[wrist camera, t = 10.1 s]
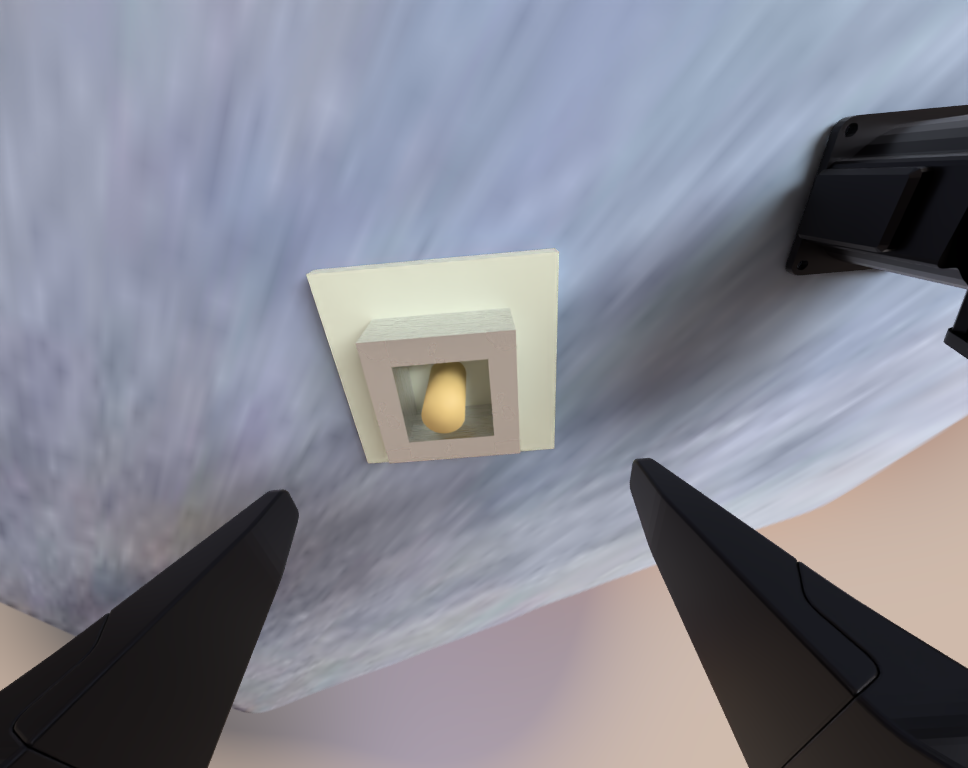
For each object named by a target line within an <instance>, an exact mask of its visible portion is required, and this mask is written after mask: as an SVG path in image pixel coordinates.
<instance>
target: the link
mask: <svg viewBox="0 0 968 768" xmlns="http://www.w3.org/2000/svg"><path fill="white" fill-rule="evenodd" d="M356 347H357V350H358V354H359V357H360V361H361V365H362V368H363V372H364V375H365V379H366V382H367V386H368V389H369V393H370V396H371V400H372V403H373V407H374V410H375V414H376V417H377V421H378V424H379V428H380V431H381V435H382V439H383V442H384V446H385V449H386V453H387V456H388V460H389V463H401V462H414V461H426V460H439V459H452V458H465V457H478V456H491V455H503V454H516V453H520V434H519V406H518V378H517V349H516V329H515V325H514V322H513V318H512V314H511V311H510V308H501V309H489V310H477V311H466V312H454V313H442V314H430V315H418V316H407V317H395V318H383V319H372V321H371V322H370V323H369V325H368V326H367V328H366V329H365V330H364V332H363V333H362V335H361V336H360V338H359V339H358V340H357V342H356ZM484 359H488V365H489V378H490V390H491V402H492V404H482V405H469V406H465V420H464V423H463V424H462V426H461V427H460V428H459V429H457V430H456V431H454V432H451V433H437V432H434V431H432V430H430V429H429V428H428V427H426V425H425V424H424V423H423V421H422V417H421V413H422V409H419V410H417V407H416V402H415V397H414V392H413V388H412V383H411V378H410V373H409V369H408V366H411V365H424V364H436V363H448V362H460V361H472V360H484Z"/></svg>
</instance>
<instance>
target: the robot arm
mask: <svg viewBox="0 0 968 768" xmlns="http://www.w3.org/2000/svg"><path fill="white" fill-rule="evenodd" d="M848 126H849V132H848V133H847V135H846V136H845V130H846V128H847V127H848ZM801 261H802V263H801V265H800V266H799V267H798V268H797V265H798V264H799V263H800V262H801ZM866 269H879V270H884V271H888V272H893V273H897V274H902V275H906V276H910V277H915V278H919V279H924V280H928V281H932V282H937V283H941V284H946V285H950V286H954V287H959V288H963V289H967V291H966V294H965V296H964V299H963V302H962V304H961V307H960V309H959V312H958V315H957V317H956V320H955V323H954V325H953V327H951V328H949V329H948V331H947V334H946V336H945V339H944V343H945V344H947V345H948V346H950V347H951V348H952V349H954V350H955V351H957V352H958V353H960V354H961V355H962V356H964V357H965V358H967V359H968V105H961V106H950V107H940V108H929V109H919V110H908V111H898V112H887V113H877V114H866V115H856V116H850V117H846V118H843V119H841V120H840V121H839V122H837V124H836V125H835V126H834V127H833V129H832V131H831V134H830V137H829V140H828V143H827V146H826V149H825V152H824V155H823V158H822V160H821V163H820V166H819V169H818V172H817V175H816V178H815V181H814V184H813V187H812V190H811V193H810V196H809V199H808V202H807V205H806V208H805V211H804V214H803V217H802V220H801V223H800V226H799V229H798V231H797V234H796V237H795V240H794V243H793V246H792V249H791V252H790V255H789V258H788V261H787V264H786V270H787V272H789V273H791V274H794V275H809V274H820V273H831V272H843V271H854V270H866ZM630 490H631V493H632V496H633V499H634V503H635V506H636V509H637V512H638V515H639V518H640V521H641V524H642V527H643V530H644V533H645V536H646V539H647V542H648V545H649V548H650V550H651V553H652V555H653V557H654V560H655V562H656V564H657V566H658V568H659V571H660V573H661V575H662V577H663V579H664V581H665V584H666V586H667V588H668V590H669V593H670V595H671V597H672V599H673V601H674V604H675V606H676V608H677V610H678V612H679V615H680V617H681V619H682V621H683V623H684V626H685V628H686V630H687V632H688V634H689V636H690V639H691V641H692V643H693V645H694V648H695V650H696V652H697V654H698V656H699V659H700V661H701V663H702V665H703V668H704V670H705V672H706V674H707V676H708V679H709V681H710V683H711V685H712V687H713V690H714V692H715V694H716V696H717V698H718V700H719V703H720V705H721V707H722V709H723V711H724V714H725V716H726V718H727V720H728V723H729V725H730V727H731V729H732V731H733V734H734V736H735V738H736V740H737V742H738V745H739V747H740V749H741V751H742V753H743V756H744V758H745V760H746V762H747V764H748V767H749V768H968V668H966V667H964V666H963V665H961V664H959V663H958V662H956V661H955V660H953V659H951V658H950V657H948V656H947V655H945V654H943V653H942V652H940V651H938V650H937V649H935V648H933V647H932V646H930V645H929V644H927V643H925V642H924V641H922V640H920V639H919V638H917V637H915V636H914V635H912V634H911V633H909V632H907V631H906V630H904V629H903V628H901V627H899V626H898V625H896V624H894V623H893V622H891V621H890V620H888V619H886V618H885V617H883V616H882V615H880V614H879V613H877V612H875V611H874V610H872V609H871V608H869V607H867V606H866V605H864V604H862V603H861V602H860V601H858V600H856V599H855V598H853V597H852V596H850V595H849V594H847V593H846V592H844V591H843V590H841V589H840V588H838V587H837V586H835V585H834V584H832V583H831V582H829V581H828V580H826V579H825V578H823V577H822V576H821V575H819V574H818V573H816V572H814V571H813V570H812V569H810V568H809V567H808V566H806V565H805V564H803V563H802V562H797V560H796V558H794V557H793V556H791V555H790V554H789V553H787V552H786V551H784V550H783V549H781V548H780V547H779V546H777V545H775V544H774V543H773V542H771V541H770V540H768V539H767V538H765V537H764V536H763V535H761V534H760V533H758V532H757V531H756V530H754V529H753V528H751V527H750V526H748V525H747V524H745V523H744V522H743V521H741V520H740V519H738V518H737V517H735V516H734V515H732V514H731V513H730V512H728V511H727V510H725V509H724V508H722V507H721V506H720V505H718V504H717V503H715V502H714V501H712V500H711V499H709V498H708V497H707V496H705V495H704V494H702V493H701V492H699V491H698V490H697V489H695V488H694V487H692V486H691V485H689V484H688V483H686V482H685V481H684V480H682V479H681V478H679V477H678V476H676V475H675V474H673V473H672V472H671V471H669V470H668V469H666V468H665V467H663V466H662V465H661V464H659V463H658V462H656V461H655V460H653V459H651V458H642V459H635V460H634V461H633V464H632V471H631V477H630ZM298 518H299V513H298V509H297V507H296V505H295V503H294V502H293V500H292V498H291V496H290V494H289V492H288V491H286V490H272V491H269V492H267V493H265V494H264V495H263V496H262V497H260V498H259V499H258V500H256V501H255V502H254V503H252V504H251V505H250V506H248V507H247V508H246V509H244V510H243V511H242V512H240V513H239V514H238V515H236V516H235V517H234V518H232V519H231V520H230V521H229V522H227V523H226V524H225V525H223V526H222V527H221V528H219V529H218V530H217V531H215V532H214V533H213V534H211V535H210V536H209V537H207V538H206V539H205V540H203V541H202V542H201V543H199V544H198V545H197V546H196V547H194V548H193V549H192V550H190V551H189V552H188V553H186V554H185V555H184V556H182V557H181V558H180V559H178V560H177V561H176V562H174V563H173V564H172V565H170V566H169V567H168V568H166V569H165V570H164V571H162V572H161V573H160V574H159V575H157V576H156V577H155V578H153V579H152V580H151V581H149V582H148V583H147V584H145V585H144V586H143V587H141V588H140V589H139V590H137V591H136V592H135V593H133V594H132V595H131V596H129V597H128V598H127V599H125V600H124V601H123V602H122V603H120V604H119V605H118V606H116V607H115V608H114V609H112V610H111V612H110V613H107V614H106V615H104V616H103V617H102V618H100V619H99V620H98V621H96V622H95V623H94V624H92V625H91V626H90V627H88V628H87V629H86V630H85V631H83V632H82V633H80V634H79V635H78V636H76V637H75V638H74V639H72V640H71V641H70V642H68V643H67V644H66V645H64V646H63V647H62V648H60V649H59V650H58V651H56V652H55V653H53V654H52V655H51V656H49V657H48V658H46V659H45V660H44V661H42V662H41V663H40V664H38V665H37V666H36V667H34V668H32V669H31V670H30V671H28V672H27V673H25V674H24V675H22V676H21V677H20V678H19V679H17V680H15V681H14V682H13V683H11V684H10V685H9V686H7V687H6V688H4V689H3V690H1V691H0V768H208V766H209V763H210V761H211V758H212V755H213V753H214V750H215V748H216V745H217V742H218V740H219V737H220V735H221V732H222V730H223V727H224V725H225V722H226V719H227V717H228V714H229V712H230V709H231V707H232V704H233V702H234V699H235V696H236V694H237V691H238V689H239V686H240V684H241V681H242V679H243V676H244V673H245V671H246V668H247V666H248V663H249V661H250V658H251V655H252V653H253V650H254V648H255V645H256V643H257V640H258V638H259V635H260V632H261V630H262V627H263V625H264V622H265V620H266V617H267V614H268V612H269V609H270V607H271V604H272V602H273V599H274V597H275V594H276V591H277V589H278V586H279V583H280V581H281V578H282V575H283V572H284V569H285V565H286V562H287V558H288V555H289V551H290V547H291V544H292V540H293V537H294V533H295V530H296V526H297V523H298Z"/></svg>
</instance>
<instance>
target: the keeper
mask: <svg viewBox="0 0 968 768" xmlns="http://www.w3.org/2000/svg"><path fill="white" fill-rule="evenodd" d="M558 270H559V251H557V250H556V249H555V248H551V249H540V250H529V251H518V252H507V253H496V254H485V255H473V256H462V257H451V258H440V259H429V260H418V261H407V262H396V263H385V264H373V265H362V266H351V267H340V268H329V269H318V270H313V271H311V272H310V273H308V274H306V275H307V278H308V281H309V285H310V288H311V291H312V294H313V297H314V300H315V303H316V306H317V309H318V312H319V315H320V318H321V321H322V324H323V327H324V330H325V333H326V336H327V339H328V342H329V346H330V349H331V352H332V355H333V358H334V361H335V364H336V367H337V370H338V373H339V376H340V379H341V382H342V385H343V388H344V391H345V394H346V397H347V400H348V403H349V407H350V410H351V413H352V416H353V419H354V422H355V425H356V428H357V431H358V434H359V437H360V440H361V443H362V446H363V449H364V452H365V455H366V458H367V461H368V463H380V462H389V460H388V456H387V453H386V449H385V446H384V442H383V439H382V435H381V431H380V428H379V424H378V421H377V417H376V414H375V410H374V407H373V403H372V400H371V396H370V393H369V389H368V386H367V382H366V379H365V375H364V372H363V368H362V365H361V361H360V357H359V354H358V350H357V347H356V342H357V340H358V339H359V338H360V336H361V335H362V333H363V332H364V330H365V329H366V328H367V326H368V325H369V323H370V322H371V321H372V319H383V318H395V317H407V316H418V315H430V314H442V313H454V312H466V311H477V310H489V309H501V308H510V311H511V314H512V318H513V322H514V325H515V329H516V349H517V378H518V406H519V434H520V451H530V450H542V449H554V434H555V393H556V352H557V311H558ZM408 369H409V373H410V378H411V383H412V388H413V392H414V397H415V402H416V407H417V410H419V409H422V413H421V417H422V421H423V423H424V424H425V425H426V427H428V428H429V429H430V430H432V431H434V432H437V433H451V432H454V431H456V430H457V429H459V428H460V427H461V426H462V424H463V423H464V420H465V406H469V405H482V404H492V402H491V390H490V378H489V365H488V359H484V360H472V361H460V362H448V363H436V364H424V365H411V366H408Z"/></svg>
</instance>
